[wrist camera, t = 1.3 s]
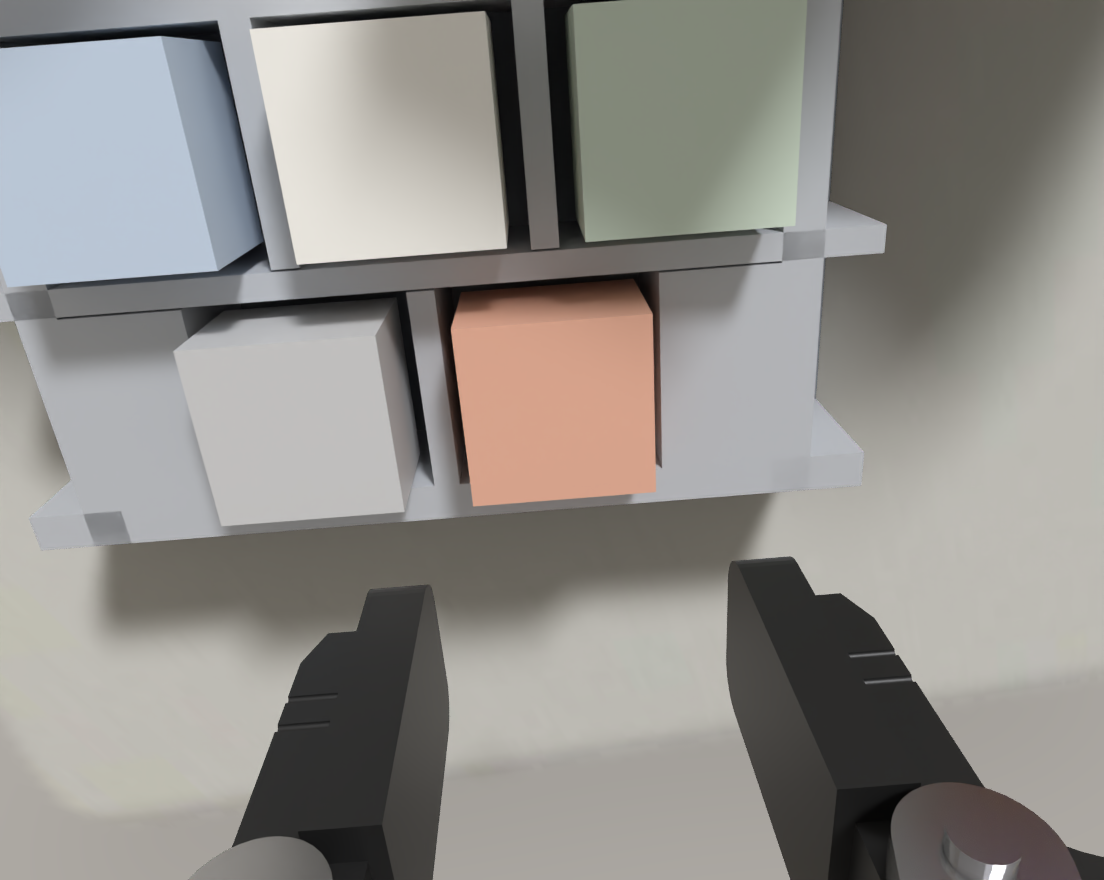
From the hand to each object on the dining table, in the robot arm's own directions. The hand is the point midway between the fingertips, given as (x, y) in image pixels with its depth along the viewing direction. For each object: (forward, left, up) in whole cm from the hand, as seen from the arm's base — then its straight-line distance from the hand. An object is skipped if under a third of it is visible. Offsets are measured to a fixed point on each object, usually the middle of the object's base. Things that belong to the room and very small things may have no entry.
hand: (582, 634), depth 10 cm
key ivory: (+3, -5, -10) cm, 12 cm away
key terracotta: (0, 0, -10) cm, 10 cm away
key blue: (+8, -5, -10) cm, 14 cm away
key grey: (+6, 0, -10) cm, 12 cm away
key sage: (-3, -6, -10) cm, 12 cm away
